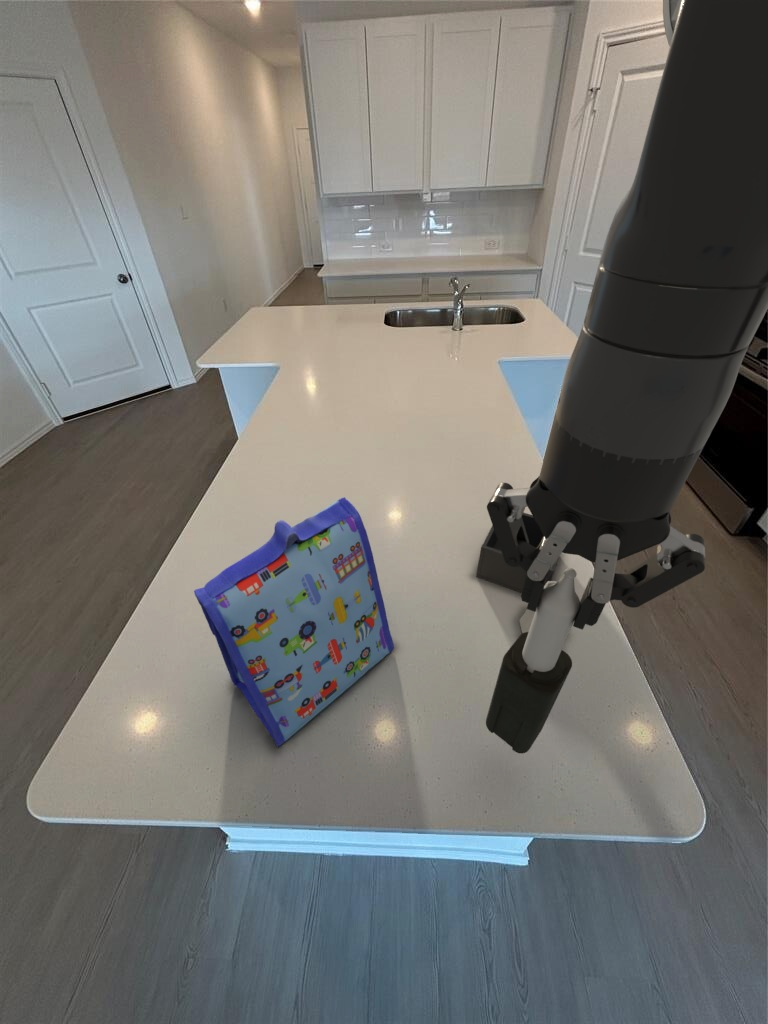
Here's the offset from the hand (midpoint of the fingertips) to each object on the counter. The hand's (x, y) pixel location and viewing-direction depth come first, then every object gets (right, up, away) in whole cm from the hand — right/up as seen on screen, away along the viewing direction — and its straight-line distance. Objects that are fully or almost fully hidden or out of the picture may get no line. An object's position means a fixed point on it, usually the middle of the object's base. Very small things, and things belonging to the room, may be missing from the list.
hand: (556, 610), depth 35 cm
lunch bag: (-24, -16, +33) cm, 44 cm away
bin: (+12, -2, +48) cm, 49 cm away
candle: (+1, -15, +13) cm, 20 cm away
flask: (+12, -11, +38) cm, 41 cm away
